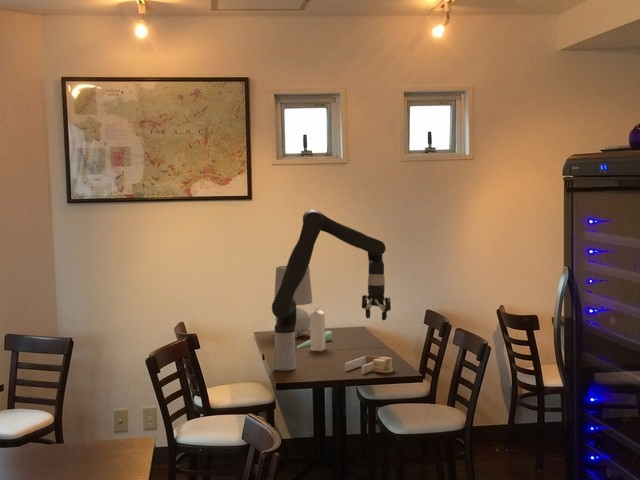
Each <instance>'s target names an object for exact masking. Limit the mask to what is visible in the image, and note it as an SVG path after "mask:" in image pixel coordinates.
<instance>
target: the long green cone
mask: <svg viewBox="0 0 640 480" xmlns="http://www.w3.org/2000/svg"><path fill="white" fill-rule="evenodd" d="M333 338H334V335H333V332H332V331H331V330H325V343H326V342H330V341H333ZM305 347H311V338H310V339H308V340H306V341H305V342H302V343H301V344H298V345H297V346H295V349H301V348H305Z"/></svg>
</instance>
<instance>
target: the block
mask: <svg viewBox="0 0 640 480" xmlns="http://www.w3.org/2000/svg"><path fill="white" fill-rule="evenodd" d="M379 357H380V358H377V359H375V360H373V372H376V373H379V372H382V373H381V374H384V373H383V372H386V371H388V370H391V369H393V357H387V356H379Z"/></svg>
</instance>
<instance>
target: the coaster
mask: <svg viewBox="0 0 640 480" xmlns="http://www.w3.org/2000/svg"><path fill="white" fill-rule="evenodd" d="M393 372H394V368H392V369H391V370H388V371H386V372H383V373H382V372H380V374H386V373H387V374H389V373H393Z"/></svg>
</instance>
